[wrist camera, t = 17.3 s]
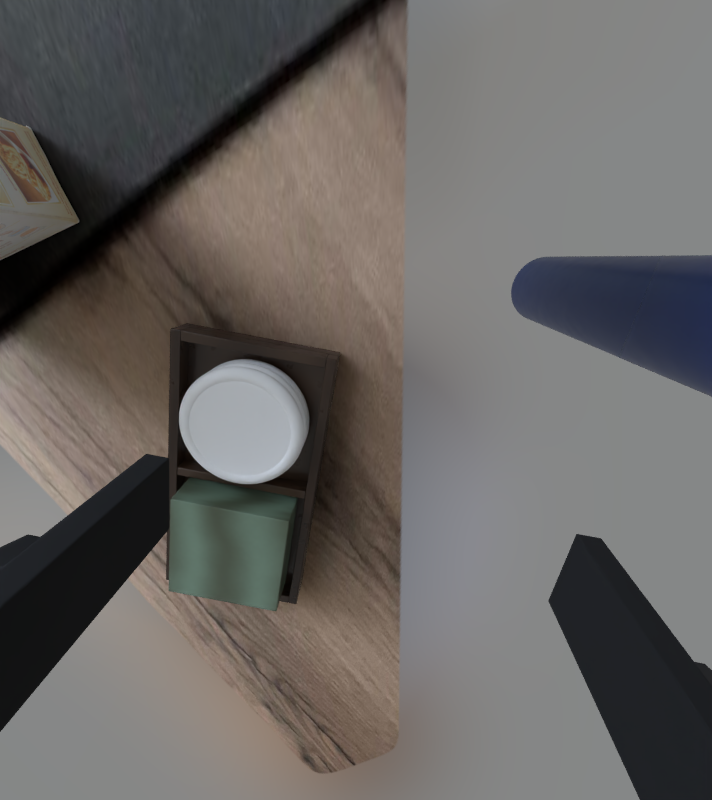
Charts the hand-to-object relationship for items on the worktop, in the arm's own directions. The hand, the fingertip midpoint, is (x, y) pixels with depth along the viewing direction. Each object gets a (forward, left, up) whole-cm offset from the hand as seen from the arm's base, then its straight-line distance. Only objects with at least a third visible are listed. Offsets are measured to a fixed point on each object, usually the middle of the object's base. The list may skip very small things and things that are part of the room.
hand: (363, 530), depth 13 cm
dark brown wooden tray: (+9, +12, -22) cm, 27 cm away
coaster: (+9, +6, -21) cm, 24 cm away
